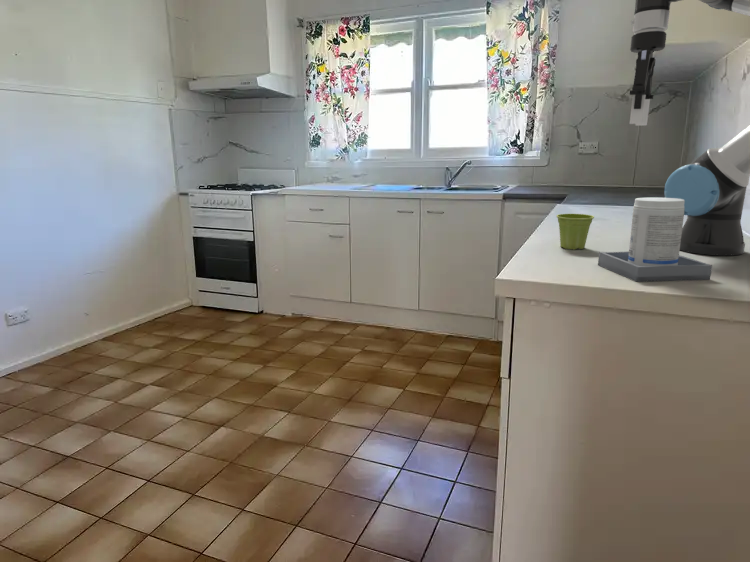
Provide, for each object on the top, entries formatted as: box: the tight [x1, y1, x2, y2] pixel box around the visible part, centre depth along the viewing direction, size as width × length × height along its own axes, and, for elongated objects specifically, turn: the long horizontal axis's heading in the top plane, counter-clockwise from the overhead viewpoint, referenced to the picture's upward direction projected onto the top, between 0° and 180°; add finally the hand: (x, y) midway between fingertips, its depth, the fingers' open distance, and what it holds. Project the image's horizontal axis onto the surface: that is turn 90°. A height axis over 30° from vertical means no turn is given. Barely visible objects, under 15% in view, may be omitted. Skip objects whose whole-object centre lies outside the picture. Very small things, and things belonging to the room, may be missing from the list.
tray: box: [597, 250, 713, 283], centre depth 111 cm, size 16×16×3 cm
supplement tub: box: [628, 196, 685, 266], centre depth 110 cm, size 10×10×15 cm
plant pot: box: [556, 213, 595, 250], centre depth 138 cm, size 9×9×9 cm
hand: (638, 124), depth 129 cm, fingers open, 13 cm apart
